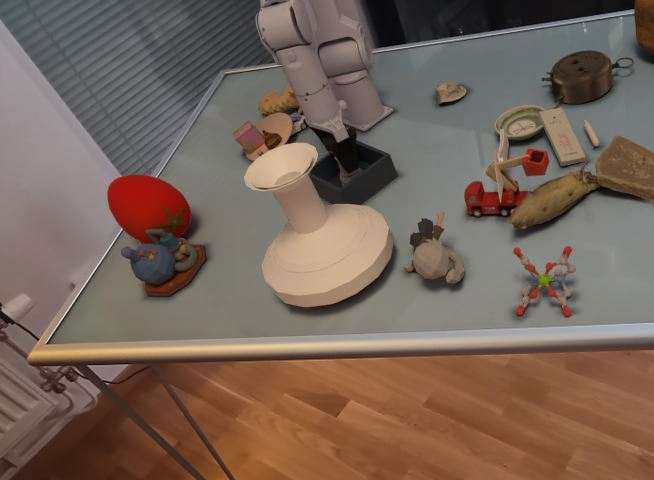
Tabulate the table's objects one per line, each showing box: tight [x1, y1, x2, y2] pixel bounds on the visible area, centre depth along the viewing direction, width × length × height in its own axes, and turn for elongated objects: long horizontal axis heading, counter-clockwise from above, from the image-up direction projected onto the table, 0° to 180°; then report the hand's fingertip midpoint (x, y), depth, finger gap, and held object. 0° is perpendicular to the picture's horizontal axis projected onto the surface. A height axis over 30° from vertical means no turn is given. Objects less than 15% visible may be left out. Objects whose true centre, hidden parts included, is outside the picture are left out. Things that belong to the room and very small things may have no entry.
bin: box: [308, 139, 399, 205], centre depth 107 cm, size 11×11×4 cm
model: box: [120, 229, 207, 297], centre depth 101 cm, size 12×9×9 cm
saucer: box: [493, 104, 547, 141], centre depth 107 cm, size 10×10×2 cm
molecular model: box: [512, 245, 577, 317], centre depth 79 cm, size 7×8×8 cm
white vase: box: [243, 142, 395, 308], centre depth 88 cm, size 20×20×19 cm
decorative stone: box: [594, 135, 654, 202], centre depth 90 cm, size 10×6×15 cm
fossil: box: [434, 81, 467, 105], centre depth 121 cm, size 8×4×6 cm
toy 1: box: [257, 79, 329, 116], centre depth 132 cm, size 5×12×20 cm
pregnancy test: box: [539, 106, 600, 167], centre depth 101 cm, size 8×12×1 cm, turn 14°
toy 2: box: [404, 210, 465, 285], centre depth 89 cm, size 10×8×15 cm
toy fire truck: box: [463, 147, 550, 218], centre depth 91 cm, size 3×14×10 cm, turn 75°
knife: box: [494, 129, 510, 203], centre depth 93 cm, size 26×4×1 cm
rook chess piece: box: [330, 151, 363, 186], centre depth 106 cm, size 4×4×8 cm
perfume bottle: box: [232, 112, 293, 162], centre depth 122 cm, size 12×12×4 cm
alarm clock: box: [540, 49, 635, 105], centre depth 111 cm, size 11×5×16 cm
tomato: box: [106, 174, 192, 246], centre depth 107 cm, size 13×11×14 cm
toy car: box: [290, 115, 308, 137], centre depth 125 cm, size 4×12×3 cm, turn 125°
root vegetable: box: [507, 159, 602, 230], centre depth 91 cm, size 5×20×5 cm
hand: (344, 161), depth 105 cm, fingers open, 7 cm apart
